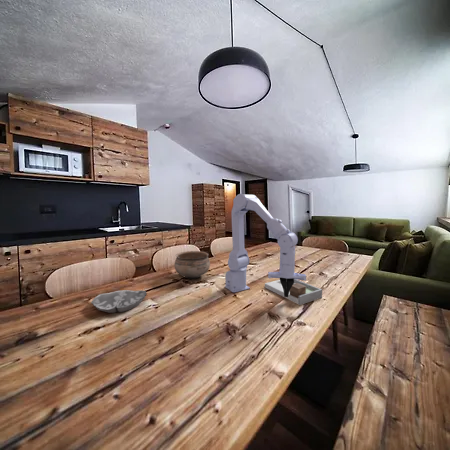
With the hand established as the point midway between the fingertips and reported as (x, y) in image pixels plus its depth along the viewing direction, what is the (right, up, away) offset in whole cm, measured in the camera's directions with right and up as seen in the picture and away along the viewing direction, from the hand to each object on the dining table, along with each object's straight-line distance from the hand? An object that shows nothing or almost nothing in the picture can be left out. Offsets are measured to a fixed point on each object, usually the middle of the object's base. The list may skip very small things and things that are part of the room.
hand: (286, 296), depth 88 cm
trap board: (+5, -2, +11) cm, 12 cm away
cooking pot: (-42, 0, +30) cm, 52 cm away
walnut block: (+6, -1, +3) cm, 6 cm away
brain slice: (-66, -3, -2) cm, 66 cm away
